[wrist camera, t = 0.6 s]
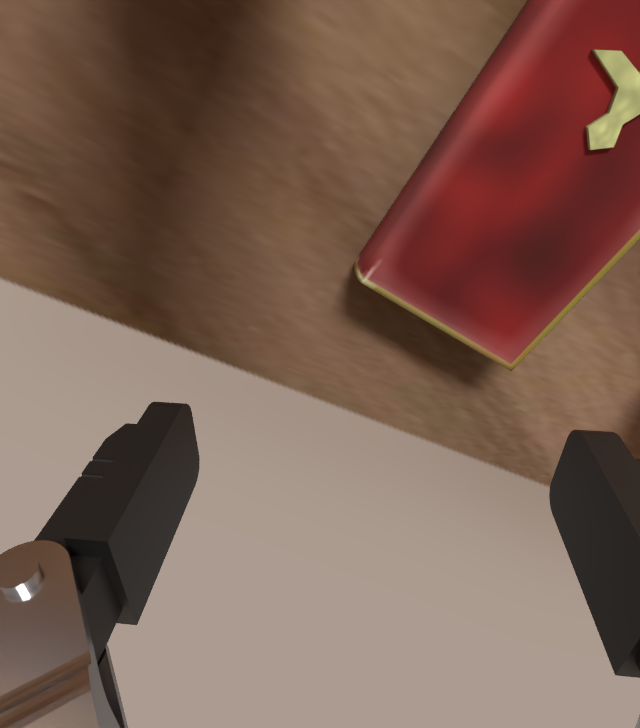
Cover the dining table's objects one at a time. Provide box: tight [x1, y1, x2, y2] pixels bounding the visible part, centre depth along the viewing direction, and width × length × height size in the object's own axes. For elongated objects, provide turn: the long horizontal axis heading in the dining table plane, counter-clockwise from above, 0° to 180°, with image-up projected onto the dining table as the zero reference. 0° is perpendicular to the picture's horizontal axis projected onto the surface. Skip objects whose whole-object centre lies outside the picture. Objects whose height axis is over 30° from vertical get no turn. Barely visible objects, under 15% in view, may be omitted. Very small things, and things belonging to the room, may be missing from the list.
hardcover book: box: [354, 0, 640, 371], centre depth 27 cm, size 12×21×4 cm, turn 149°
